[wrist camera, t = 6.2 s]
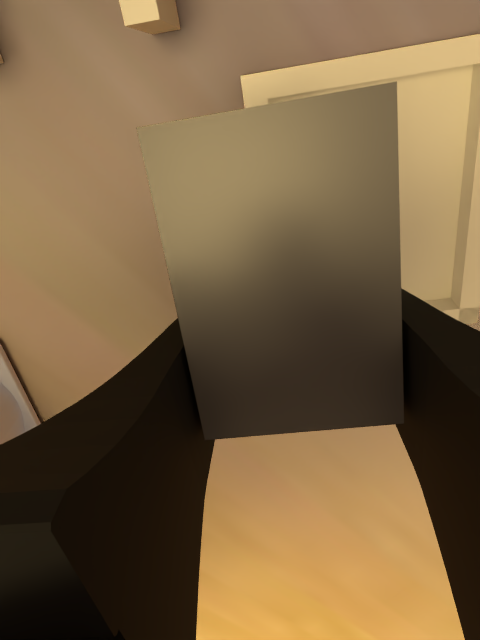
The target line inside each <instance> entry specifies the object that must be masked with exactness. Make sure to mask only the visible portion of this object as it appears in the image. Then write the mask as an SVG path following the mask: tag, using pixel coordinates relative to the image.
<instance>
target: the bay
mask: <svg viewBox="0 0 480 640" xmlns="http://www.w3.org/2000/svg"><path fill="white" fill-rule="evenodd" d="M119 2H120V7H121V11H122V15H123V19H124V24H125V26H127V27H130V28H133V29H136V30H140V31H143V32H146V33H149V34H152V35H153V34H159V33H164V32H169V31H174V30H179V29H180V23H179V18H178V12H177V7H176V1H175V0H119ZM2 63H4V62H3V59H2V56H1V54H0V64H2Z"/></svg>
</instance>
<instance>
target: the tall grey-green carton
mask: <svg viewBox="0 0 480 640" xmlns="http://www.w3.org/2000/svg"><path fill="white" fill-rule="evenodd" d="M136 129H137V133H138V138H139V142H140V147H141V152H142V156H143V161H144V165H145V170H146V174H147V179H148V183H149V188H150V192H151V197H152V202H153V206H154V211H155V215H156V220H157V224H158V229H159V233H160V238H161V242H162V247H163V252H164V256H165V261H166V265H167V270H168V274H169V279H170V283H171V288H172V292H173V297H174V302H175V306H176V311H177V315H178V320H179V324H180V329H181V333H182V338H183V342H184V347H185V352H186V356H187V361H188V365H189V370H190V374H191V379H192V383H193V388H194V392H195V397H196V402H197V406H198V411H199V415H200V420H201V424H202V429H203V433H204V438H205V440H212V439H224V438H236V437H248V436H260V435H272V434H284V433H296V432H308V431H320V430H331V429H343V428H355V427H367V426H379V425H391V424H403V423H404V396H403V348H402V301H401V253H400V205H399V157H398V109H397V81H396V82H391V83H385V84H380V85H374V86H368V87H363V88H357V89H351V90H346V91H340V92H334V93H329V94H323V95H318V96H312V97H306V98H301V99H295V100H289V101H284V102H278V103H272V104H267V105H261V106H255V107H250V108H244V109H239V110H233V111H227V112H222V113H216V114H210V115H205V116H199V117H193V118H188V119H182V120H176V121H171V122H165V123H160V124H154V125H148V126H143V127H137V128H136Z"/></svg>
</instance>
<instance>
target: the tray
mask: <svg viewBox="0 0 480 640" xmlns="http://www.w3.org/2000/svg"><path fill="white" fill-rule="evenodd" d="M240 77H241V84H242V92H243V99H244V107H245V108H250V107H255V106H261V105H267V104H272V103H278V102H284V101H289V100H295V99H301V98H306V97H312V96H318V95H323V94H329V93H334V92H340V91H346V90H351V89H357V88H363V87H368V86H374V85H380V84H385V83H391V82H396V81H397V109H398V157H399V205H400V253H401V288H402V289H404V290H406V291H407V292H409V293H411V294H413V295H414V296H416V297H418V298H419V299H421V300H423V301H425V302H426V303H428V304H430V305H431V306H433V307H435V308H437V309H438V310H440V311H442V312H444V313H445V314H447V315H449V316H451V317H453V318H454V319H456V320H458V321H460V322H462V323H464V324H474V323H478V316H479V308H480V34H476V35H470V36H464V37H458V38H453V39H447V40H441V41H436V42H430V43H424V44H419V45H413V46H407V47H402V48H396V49H390V50H385V51H379V52H373V53H368V54H362V55H356V56H350V57H345V58H339V59H333V60H328V61H322V62H316V63H311V64H305V65H299V66H294V67H288V68H282V69H277V70H271V71H265V72H259V73H254V74H248V75H242V76H240Z"/></svg>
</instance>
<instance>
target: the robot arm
mask: <svg viewBox="0 0 480 640" xmlns="http://www.w3.org/2000/svg"><path fill="white" fill-rule="evenodd" d="M401 301H402V348H403V396H404V423H403V424H396V427H397V429H398V431H399V434H400V436H401V438H402V441H403V443H404V445H405V448H406V450H407V452H408V455H409V457H410V459H411V462H412V464H413V466H414V469H415V471H416V474H417V477H418V479H419V482H420V485H421V488H422V491H423V494H424V497H425V501H426V504H427V507H428V510H429V514H430V517H431V520H432V523H433V527H434V530H435V534H436V537H437V541H438V544H439V547H440V551H441V554H442V558H443V561H444V565H445V568H446V572H447V575H448V579H449V582H450V586H451V590H452V593H453V597H454V601H455V604H456V608H457V612H458V615H459V619H460V623H461V626H462V630H463V634H464V638H465V640H480V331H478V330H476V329H474V328H472V327H470V326H468V325H466V324H464V323H462V322H460V321H458V320H456V319H454V318H453V317H451V316H449V315H447V314H445V313H444V312H442V311H440V310H438V309H437V308H435V307H433V306H431V305H430V304H428V303H426V302H425V301H423V300H421V299H419V298H418V297H416V296H414V295H413V294H411V293H409V292H407V291H406V290H404V289H402V288H401ZM214 442H215V439H212V440H205V438H204V433H203V429H202V424H201V420H200V415H199V411H198V406H197V402H196V397H195V392H194V388H193V383H192V379H191V374H190V370H189V365H188V361H187V356H186V352H185V347H184V342H183V338H182V333H181V329H180V324H179V320H178V318H177V319H176V320H175V321H174V322H173V323H172V324H171V325H170V326H169V327H168V328H167V329H166V330H165V331H164V332H163V333H162V334H161V335H160V336H159V337H158V338H156V339H155V340H154V341H153V342H152V343H151V344H150V345H149V346H148V347H147V348H146V349H145V350H144V351H143V352H142V353H140V354H139V355H138V356H137V357H136V358H135V359H133V360H132V361H131V362H130V363H129V364H128V365H126V366H125V367H124V368H123V369H122V370H121V371H119V372H118V373H117V374H116V375H115V376H113V377H112V378H111V379H109V380H108V381H107V382H105V383H104V384H103V385H101V386H100V387H99V388H97V389H96V390H94V391H93V392H92V393H90V394H89V395H87V396H86V397H84V398H83V399H81V400H80V401H78V402H77V403H75V404H73V405H72V406H70V407H68V408H67V409H65V410H63V411H62V412H60V413H58V414H57V415H55V416H53V417H52V418H50V419H48V420H47V421H45V422H43V423H42V424H41V423H40V421H39V419H38V417H37V415H36V413H35V411H34V409H33V407H32V405H31V403H30V401H29V399H28V397H27V395H26V393H25V391H24V389H23V387H22V385H21V383H20V381H19V379H18V377H17V375H16V373H15V371H14V369H13V367H12V365H11V363H10V361H9V360H8V358H7V356H6V354H5V352H4V350H3V348H2V346H1V344H0V640H196V624H197V603H198V582H199V566H200V551H201V536H202V523H203V511H204V499H205V492H206V485H207V479H208V474H209V468H210V463H211V458H212V453H213V447H214Z"/></svg>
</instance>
